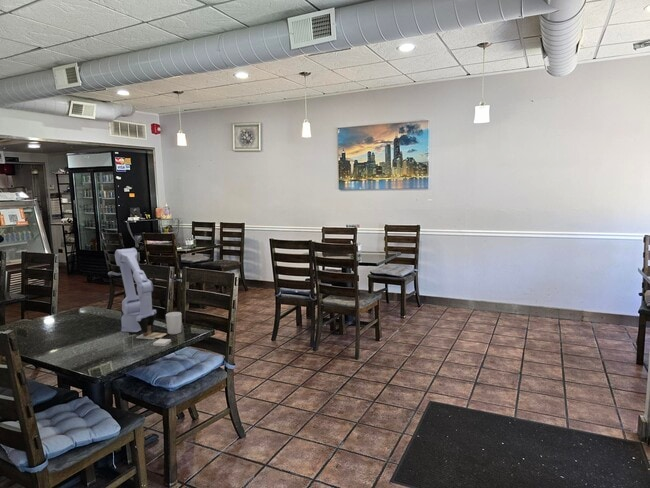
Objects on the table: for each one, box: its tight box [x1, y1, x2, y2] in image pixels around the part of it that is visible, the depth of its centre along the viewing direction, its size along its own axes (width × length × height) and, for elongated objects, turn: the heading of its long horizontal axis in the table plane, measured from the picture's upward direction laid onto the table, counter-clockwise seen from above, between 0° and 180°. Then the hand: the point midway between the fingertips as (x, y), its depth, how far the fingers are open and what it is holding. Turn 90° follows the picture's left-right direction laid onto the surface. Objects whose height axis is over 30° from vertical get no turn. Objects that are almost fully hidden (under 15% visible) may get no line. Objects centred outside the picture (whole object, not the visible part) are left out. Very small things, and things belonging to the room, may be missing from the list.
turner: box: [142, 325, 168, 339], centre depth 219 cm, size 11×6×5 cm, turn 79°
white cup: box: [165, 311, 183, 335], centre depth 225 cm, size 8×8×10 cm
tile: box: [152, 338, 172, 347], centre depth 209 cm, size 2×6×6 cm
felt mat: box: [135, 333, 156, 340], centre depth 220 cm, size 10×8×1 cm
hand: (147, 330), depth 220 cm, fingers open, 4 cm apart
